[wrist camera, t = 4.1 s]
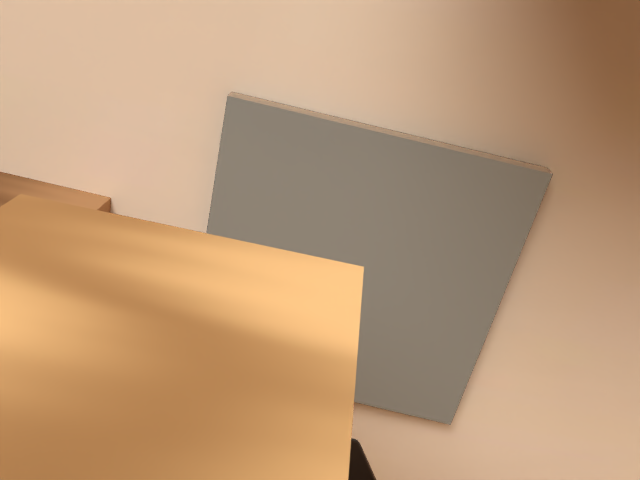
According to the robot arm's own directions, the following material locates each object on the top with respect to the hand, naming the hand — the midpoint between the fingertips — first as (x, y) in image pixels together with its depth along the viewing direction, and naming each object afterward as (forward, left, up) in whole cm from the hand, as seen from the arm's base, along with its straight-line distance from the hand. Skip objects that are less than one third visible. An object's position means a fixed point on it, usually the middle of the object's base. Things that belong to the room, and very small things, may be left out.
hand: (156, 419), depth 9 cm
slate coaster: (+3, -3, -12) cm, 13 cm away
